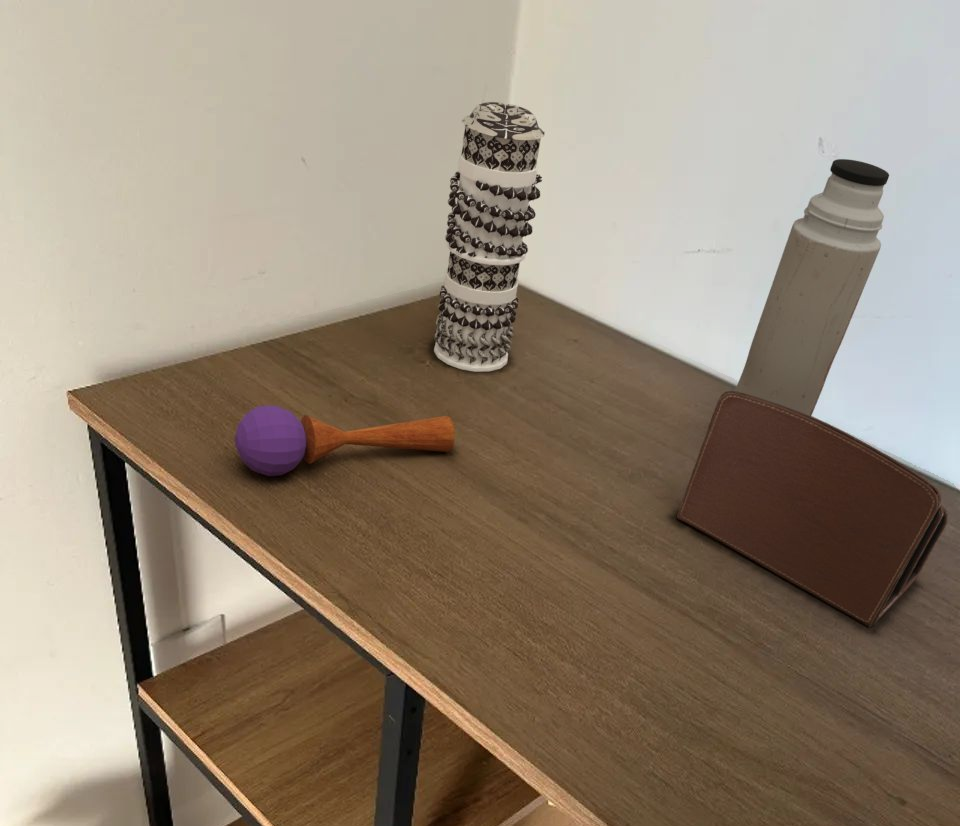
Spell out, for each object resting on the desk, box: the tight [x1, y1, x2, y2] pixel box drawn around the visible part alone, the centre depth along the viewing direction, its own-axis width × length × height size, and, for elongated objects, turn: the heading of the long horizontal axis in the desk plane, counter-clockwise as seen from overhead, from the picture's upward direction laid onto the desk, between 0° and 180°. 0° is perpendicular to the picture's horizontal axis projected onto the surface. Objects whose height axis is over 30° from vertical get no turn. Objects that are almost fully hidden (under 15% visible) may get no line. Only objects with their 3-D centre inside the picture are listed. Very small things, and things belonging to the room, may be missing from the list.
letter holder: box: [676, 390, 949, 629], centre depth 83 cm, size 10×20×14 cm, turn 49°
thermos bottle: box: [734, 158, 890, 417], centre depth 92 cm, size 8×8×28 cm
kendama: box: [234, 404, 456, 477], centre depth 86 cm, size 6×6×20 cm
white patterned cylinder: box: [433, 101, 546, 373], centre depth 100 cm, size 9×9×25 cm
